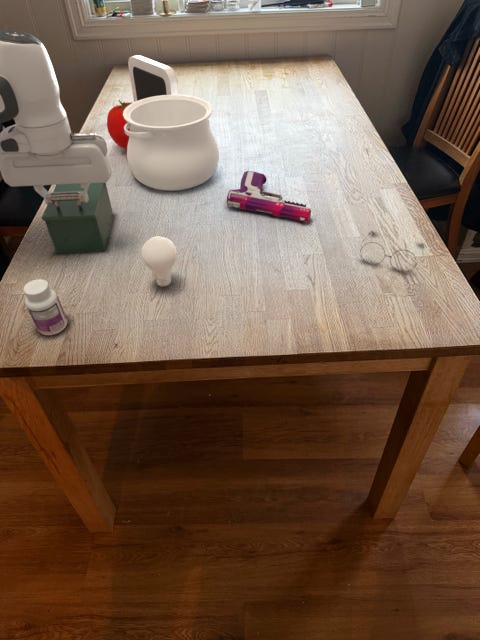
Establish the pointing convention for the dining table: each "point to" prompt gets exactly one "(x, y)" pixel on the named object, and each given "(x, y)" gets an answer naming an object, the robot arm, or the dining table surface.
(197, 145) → the pot
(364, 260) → the eyeglasses
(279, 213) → the toy gun
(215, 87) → the dining table surface
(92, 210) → the lid
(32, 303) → the pill bottle
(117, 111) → the tomato
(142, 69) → the computer
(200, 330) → the dining table surface
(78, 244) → the chest
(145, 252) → the light bulb
